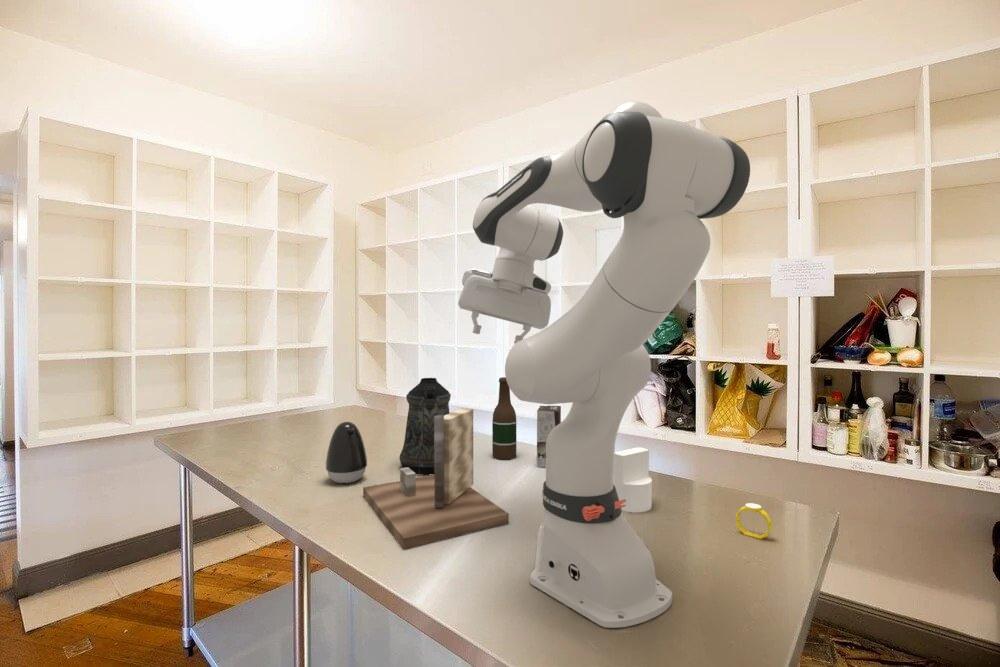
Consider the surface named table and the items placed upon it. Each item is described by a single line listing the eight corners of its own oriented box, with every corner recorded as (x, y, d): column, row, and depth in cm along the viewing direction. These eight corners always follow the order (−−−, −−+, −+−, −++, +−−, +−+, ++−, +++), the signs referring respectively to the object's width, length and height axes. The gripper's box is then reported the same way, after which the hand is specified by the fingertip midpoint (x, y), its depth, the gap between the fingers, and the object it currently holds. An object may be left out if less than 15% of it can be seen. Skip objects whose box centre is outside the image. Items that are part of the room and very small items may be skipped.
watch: (735, 535, 91) (733, 504, 92) (739, 530, 94) (737, 500, 94) (770, 542, 88) (768, 510, 88) (773, 537, 90) (771, 506, 90)
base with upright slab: (632, 515, 100) (633, 459, 100) (601, 502, 107) (602, 449, 107) (660, 506, 105) (660, 452, 105) (628, 494, 112) (629, 444, 112)
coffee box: (559, 468, 132) (559, 411, 131) (536, 467, 133) (536, 410, 132) (561, 459, 140) (561, 405, 140) (539, 458, 142) (540, 404, 141)
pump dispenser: (333, 490, 115) (332, 428, 114) (320, 478, 123) (320, 420, 123) (373, 481, 121) (373, 422, 120) (359, 471, 129) (358, 416, 129)
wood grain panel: (443, 508, 98) (443, 417, 97) (430, 506, 99) (430, 416, 98) (473, 484, 112) (473, 404, 112) (461, 482, 113) (461, 404, 113)
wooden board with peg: (508, 523, 96) (508, 489, 96) (404, 549, 85) (403, 511, 85) (449, 480, 122) (449, 453, 122) (363, 495, 111) (363, 466, 111)
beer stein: (440, 454, 145) (439, 373, 145) (475, 470, 130) (475, 380, 129) (389, 464, 135) (389, 377, 134) (422, 483, 120) (421, 385, 119)
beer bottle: (521, 458, 141) (521, 378, 140) (497, 461, 138) (497, 379, 137) (511, 452, 148) (511, 375, 147) (487, 454, 145) (487, 376, 145)
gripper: (467, 262, 100) (451, 325, 98) (558, 287, 103) (544, 348, 101) (464, 269, 106) (449, 328, 104) (550, 292, 109) (537, 350, 107)
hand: (497, 338), depth 102 cm, fingers open, 8 cm apart
